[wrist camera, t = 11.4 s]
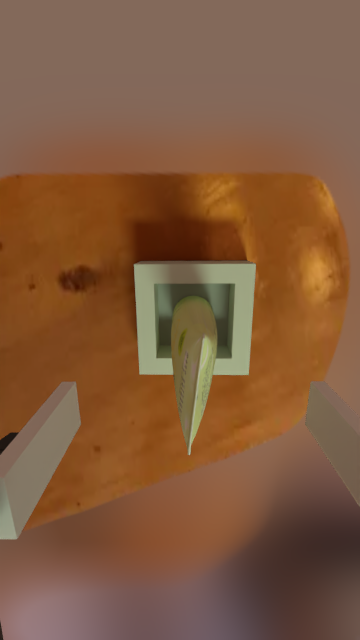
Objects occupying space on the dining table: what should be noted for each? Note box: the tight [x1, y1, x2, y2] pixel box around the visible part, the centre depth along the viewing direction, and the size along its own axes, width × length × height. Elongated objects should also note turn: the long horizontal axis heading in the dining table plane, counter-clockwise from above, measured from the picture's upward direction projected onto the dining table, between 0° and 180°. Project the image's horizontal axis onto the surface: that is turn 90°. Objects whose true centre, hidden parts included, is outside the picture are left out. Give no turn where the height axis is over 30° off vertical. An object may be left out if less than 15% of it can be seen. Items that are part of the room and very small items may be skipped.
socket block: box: [134, 260, 256, 375], centre depth 33 cm, size 12×12×4 cm
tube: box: [171, 296, 217, 455], centre depth 25 cm, size 6×5×20 cm
